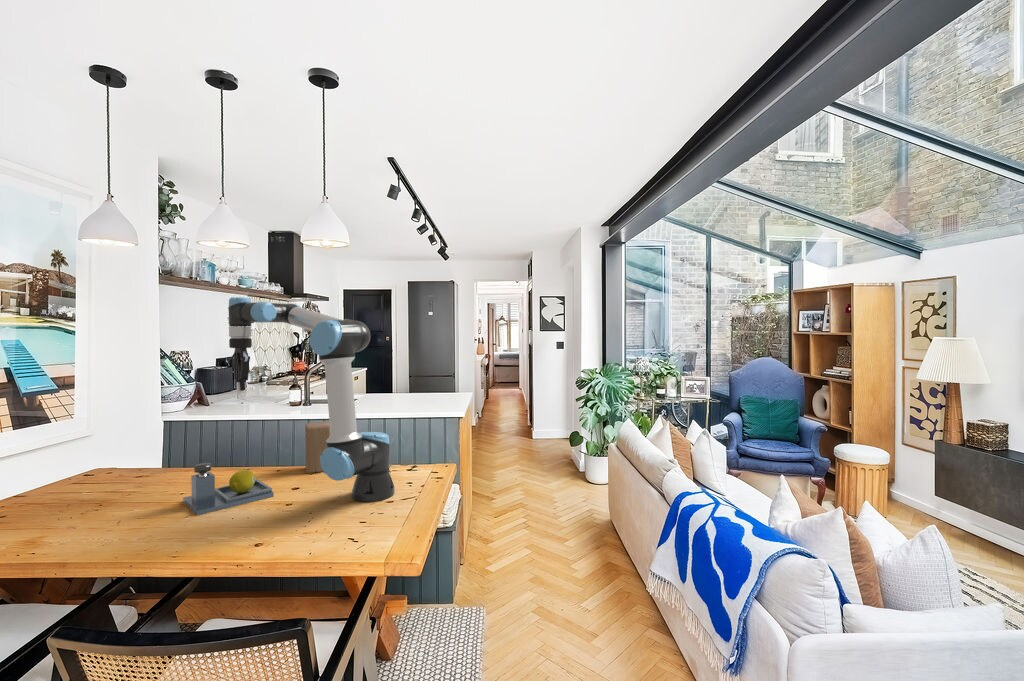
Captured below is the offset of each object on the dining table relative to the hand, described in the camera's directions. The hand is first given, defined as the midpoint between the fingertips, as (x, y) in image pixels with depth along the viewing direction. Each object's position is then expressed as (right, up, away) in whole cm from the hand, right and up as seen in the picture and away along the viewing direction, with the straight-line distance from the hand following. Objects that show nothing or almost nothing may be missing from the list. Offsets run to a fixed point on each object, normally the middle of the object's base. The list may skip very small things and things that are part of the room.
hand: (241, 398), depth 183 cm
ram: (-3, -31, -18) cm, 36 cm away
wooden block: (+20, -34, +23) cm, 46 cm away
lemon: (+6, -33, -9) cm, 35 cm away
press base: (+3, -35, -12) cm, 37 cm away
